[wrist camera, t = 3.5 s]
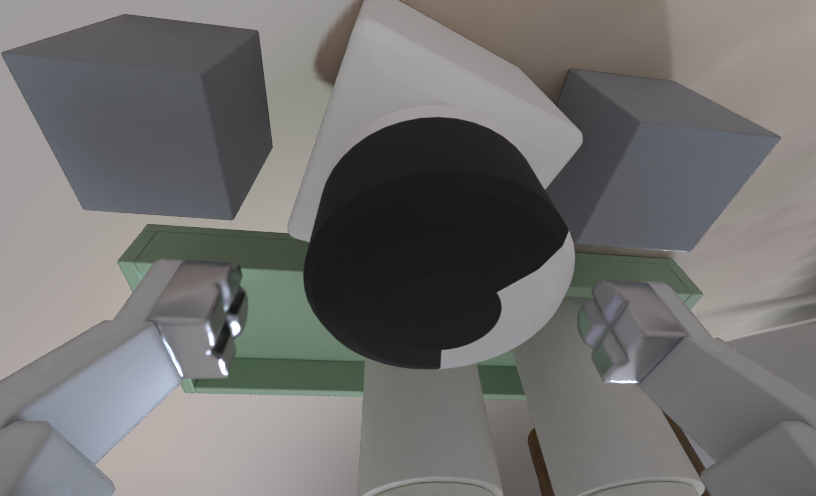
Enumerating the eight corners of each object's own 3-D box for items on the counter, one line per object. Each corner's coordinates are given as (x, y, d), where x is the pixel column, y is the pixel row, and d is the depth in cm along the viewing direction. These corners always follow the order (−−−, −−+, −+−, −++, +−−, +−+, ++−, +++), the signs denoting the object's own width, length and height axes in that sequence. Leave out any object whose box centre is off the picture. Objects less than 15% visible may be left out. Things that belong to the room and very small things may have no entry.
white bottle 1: (476, 286, 24) (531, 511, 15) (455, 348, 28) (487, 552, 19) (369, 280, 23) (357, 513, 14) (365, 345, 28) (353, 555, 18)
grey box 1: (258, 29, 15) (200, 73, 10) (273, 147, 18) (233, 221, 13) (123, 13, 14) (-3, 51, 10) (162, 137, 17) (83, 210, 13)
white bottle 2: (621, 294, 25) (758, 508, 16) (579, 353, 29) (667, 548, 20) (523, 289, 24) (607, 510, 15) (495, 350, 29) (547, 551, 19)
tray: (673, 258, 24) (704, 294, 21) (588, 367, 32) (605, 402, 30) (147, 223, 20) (115, 261, 18) (201, 355, 29) (184, 393, 26)
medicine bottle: (314, 146, 18) (238, 367, 9) (369, -18, 14) (334, 78, 5) (443, 197, 20) (489, 417, 11) (523, 69, 16) (702, 249, 7)
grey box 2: (675, 80, 17) (783, 137, 12) (620, 179, 20) (690, 252, 15) (569, 68, 16) (640, 121, 12) (531, 170, 19) (575, 244, 15)
